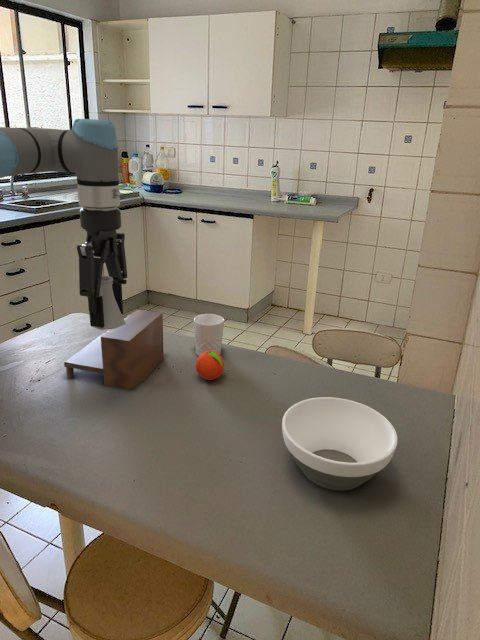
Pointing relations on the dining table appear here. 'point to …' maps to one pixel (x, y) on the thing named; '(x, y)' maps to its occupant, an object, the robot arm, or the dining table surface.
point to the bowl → (338, 440)
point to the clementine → (210, 365)
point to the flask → (110, 306)
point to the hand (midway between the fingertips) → (107, 319)
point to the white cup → (208, 333)
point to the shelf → (124, 351)
